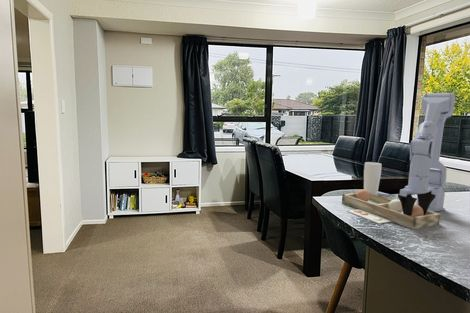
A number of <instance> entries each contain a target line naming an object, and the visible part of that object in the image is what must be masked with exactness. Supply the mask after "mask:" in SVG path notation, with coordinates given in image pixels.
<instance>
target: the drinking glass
mask: <svg viewBox="0 0 470 313" xmlns="http://www.w3.org/2000/svg"><path fill="white" fill-rule="evenodd" d="M382 165H383V164H382V163H380V162H373V161H366V162H364V166H363V168H364V169H363V190H367V191H368V192H369V193H371V194H375V195H378V193H379V192H378V191H379V188H380V187H379V186H380V181H381V175H382Z"/></svg>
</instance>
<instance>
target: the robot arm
mask: <svg viewBox="0 0 470 313" xmlns="http://www.w3.org/2000/svg"><path fill="white" fill-rule="evenodd" d="M455 104H456V93H454V92H436V93H435V92H429V93H428V92H424V93H423V94H422V96H421V103H420V107H421V109H422V112H423V115H424V121H423V122H421V123H420V124H419V125H418V127H417V132H416V135H415V136H414V137H415V138H414V139H412V140H411V141H410V144H409V161H410V164H409V171H408V173H409V174H408V183H407V185H405V186H404V188H401V189H399V193H398V194H397V198H398V200H400V202H401V205H402V209H403V214H406V215H409V216H411V214H412V209H413V206H414V205H418V206H420V207H421V208H422V209H423V212H424V214H423V215H425V214H426V212H427V210H429V211H432V212H435V213H436V212H440V211H445V210H446V208H444V203H445V196H446V195H445V194H446V193H445V190H444V187H445V185H446V182H447V171H448V170H447V166H446V165H445V164H443V163H442V162H441V161H440V156H441V151H442V150H441V148H442V142H443V134H444V127H445V123H446V120H447V118H450V117H452V116H453V113H454V110H455ZM414 195H416V197H413V196H414Z"/></svg>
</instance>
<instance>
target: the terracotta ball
mask: <svg viewBox="0 0 470 313" xmlns="http://www.w3.org/2000/svg"><path fill="white" fill-rule="evenodd" d="M423 214H424V212H423V209H422V208H421V207H420V206H418V205H416V204H414V206H413V209H412V214H411V216H412V217H418V216H423Z"/></svg>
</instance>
